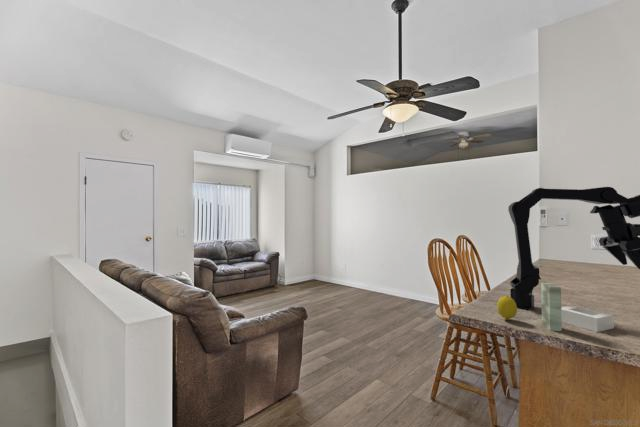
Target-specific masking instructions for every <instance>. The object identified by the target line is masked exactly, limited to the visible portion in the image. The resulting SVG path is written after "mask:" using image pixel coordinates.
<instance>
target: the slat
mask: <svg viewBox="0 0 640 427" xmlns="http://www.w3.org/2000/svg"><path fill="white" fill-rule="evenodd" d="M540 284H541V286H540V289H541V291H540V292H541V293H540V294H541V298H540V299H541V325H542V326H543V327H545V328H546V329H547V330H548V331H554V332H555V331H556V332H562V330H563V328H562V326H563V325H562V323H563V322H562V318H561V307H562V287H561V286H559V285H557V284H554V283H551V282H550V283H549V282H547V283H546V282H545V283H544V282H541V283H540Z"/></svg>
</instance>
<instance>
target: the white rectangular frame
mask: <svg viewBox="0 0 640 427" xmlns="http://www.w3.org/2000/svg"><path fill="white" fill-rule="evenodd" d="M614 316H615V315H614V314H613V313H607V312H603V311H600V310H596V309H591V308H586V307H582V306H578V305H574V304H573V305H567V306H561V318H562V323H564V324H568V325H571V326H575V327H579V328H581V329H585V330H588V331H591V332H592V331H593V332H596V333H600V332H603V331H607V330H612V329H614V328H615V318H614Z"/></svg>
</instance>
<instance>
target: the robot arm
mask: <svg viewBox="0 0 640 427" xmlns="http://www.w3.org/2000/svg"><path fill="white" fill-rule="evenodd" d="M541 200H562V201H563V200H564V201H565V200H566V201H567V200H568V201H580V202H585V203H589V204H595V205H594V206H593V208H592V209H591V210H590V211H589V213H590V214H599V218H600V220H601V222H602V225H603V227H601V229H602V231H605V232H606V233H607V234H606V235H607V236H602V237H600V238H599V239H598V243H599V245H600V246H601V247H602V248H604V250H606V251H607V252H608V253H609V254H610V255H611V256H612V257H614V258H615V259H616V260H617V261H618V262H620V264H622V265H624V266H627V265H628V261H627V259H629V260H630V262H632V263H633V265H634V266H635V267H636V268H637V269H638V270H640V223H631V222H627V220H626V218H625V217H628V218H629V219H635V218H638V217H640V194H638V195H635V196H632V197H629V198H628V197H626V196H624V195H621V194H620V193H618V191H617V190H616V189H615V188H614V187H612V186H603V187H595V188H593V187H591V188H584V189H576V188H575V189H569V188H544V187H538V188H535V189H532V191H531V192H530V193H528V194H527V195H526V196H524V197H523V198H521V199H520V200H518V201H514V202H512V203H510V205H508V210H507V211H508V213H509V216H510V218H511V221H512V223H513V226H514V233H515V241H516V250H517V257H518V262H517V263H518V264H517V268H516V277H514V278H513V279H512V280H511V281H509V284H510V285H511V287H512V288H510V290H509V291H510V298H512V299H513V300H514V301H515V303H516V306H517V309H523V310H531V309H533V308H535V295H533V290H534V288H536V287H537V286H538V285H539V284H540V281H541V280H542V278H541V277H540V268H539V267H537V266H536V265H534V264H533V260H532V253H531V252H532V250H531V243H530V235H529V227H528V224H529V220H530V214H531V213H530V212H531V208H533V207H534V206H536V204H538V203H539V202H540V201H541ZM603 204H604V205H603ZM606 204H607V205H606ZM617 204H618V205H617ZM599 205H603V206H599ZM613 205H614V206H613Z"/></svg>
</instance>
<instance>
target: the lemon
mask: <svg viewBox="0 0 640 427" xmlns="http://www.w3.org/2000/svg"><path fill="white" fill-rule="evenodd" d="M496 310H497V311H498V314H499V315H500V316H501V317H502V318H504V319H505V320H507V321H509V320H510V319H513V318H515V317H516V315H517V313H518V308H517V306H516V303H515V301H514V300H513V299H512V298H511V296H509V295H504V296H502V297H500V298H499V299H498V301H497V303H496Z"/></svg>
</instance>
